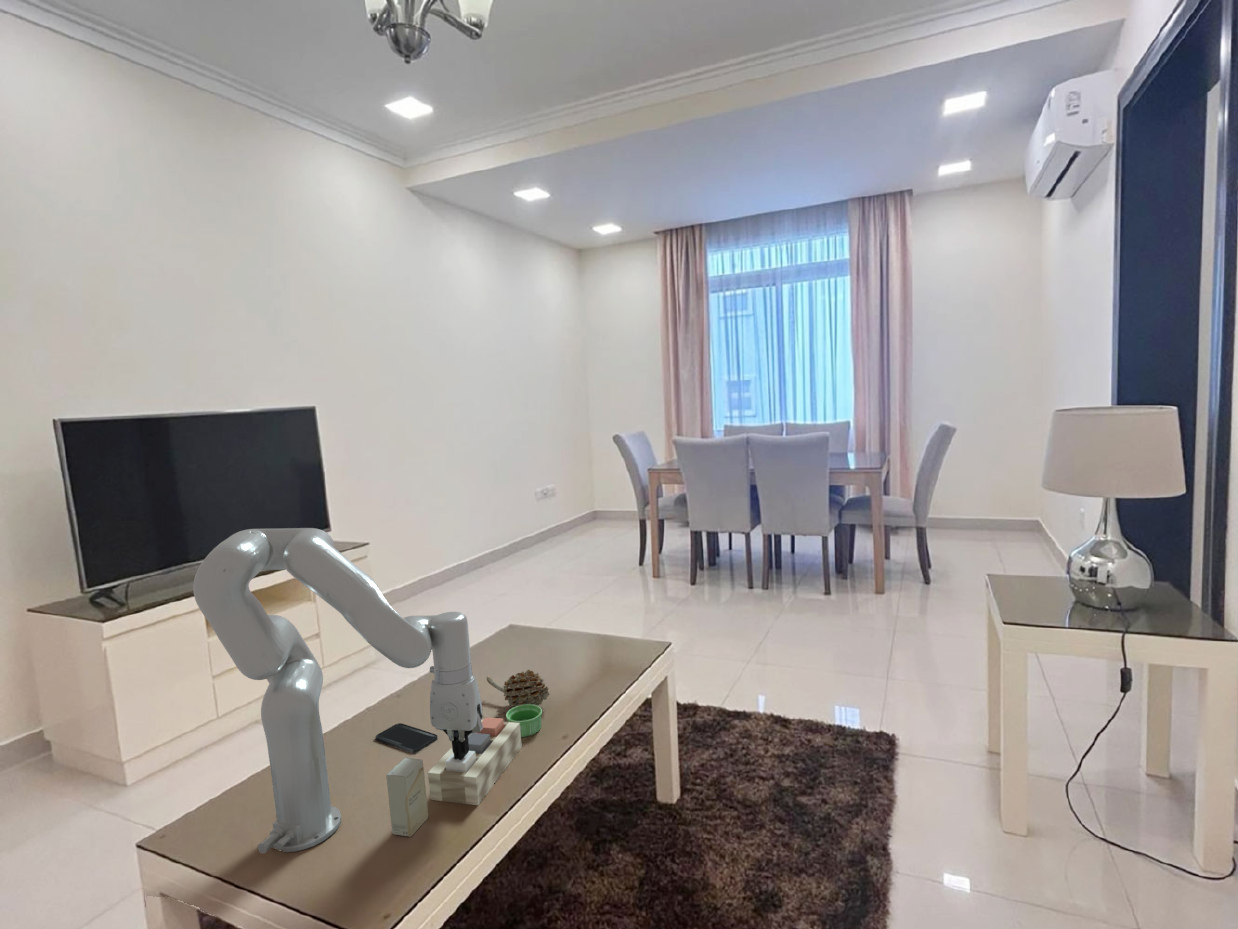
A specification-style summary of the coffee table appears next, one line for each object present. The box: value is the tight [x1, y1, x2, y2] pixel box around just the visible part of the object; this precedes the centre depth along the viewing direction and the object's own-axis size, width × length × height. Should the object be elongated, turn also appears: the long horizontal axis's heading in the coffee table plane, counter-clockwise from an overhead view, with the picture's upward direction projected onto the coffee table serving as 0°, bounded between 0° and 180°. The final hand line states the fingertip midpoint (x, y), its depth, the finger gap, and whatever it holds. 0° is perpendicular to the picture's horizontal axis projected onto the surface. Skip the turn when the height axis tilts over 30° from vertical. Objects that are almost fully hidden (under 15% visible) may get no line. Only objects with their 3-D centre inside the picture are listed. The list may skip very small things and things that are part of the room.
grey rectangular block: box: [468, 733, 491, 754], centre depth 140 cm, size 4×4×6 cm
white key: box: [446, 751, 476, 773], centre depth 133 cm, size 4×4×6 cm
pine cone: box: [486, 669, 550, 707], centre depth 171 cm, size 22×10×10 cm, turn 62°
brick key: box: [478, 717, 505, 737], centre depth 147 cm, size 4×4×6 cm
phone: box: [374, 722, 439, 754], centre depth 156 cm, size 8×1×15 cm
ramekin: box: [505, 704, 543, 738], centre depth 158 cm, size 9×9×4 cm
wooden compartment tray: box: [427, 719, 523, 806], centre depth 140 cm, size 22×11×6 cm, turn 165°
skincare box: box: [385, 757, 429, 837], centre depth 123 cm, size 6×4×12 cm
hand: (461, 756), depth 133 cm, fingers closed
